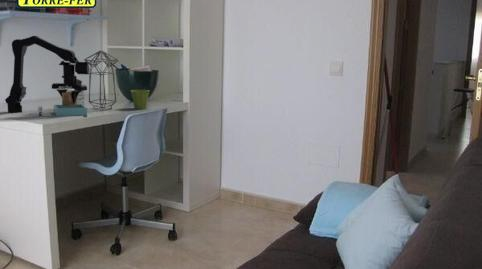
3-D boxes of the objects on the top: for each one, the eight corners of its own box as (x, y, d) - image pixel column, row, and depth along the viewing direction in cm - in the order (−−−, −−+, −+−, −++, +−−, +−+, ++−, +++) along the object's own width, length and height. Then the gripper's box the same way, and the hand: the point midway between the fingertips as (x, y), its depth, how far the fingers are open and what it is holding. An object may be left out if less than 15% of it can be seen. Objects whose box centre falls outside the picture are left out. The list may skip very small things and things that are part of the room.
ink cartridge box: (72, 110, 280) (71, 84, 277) (67, 109, 283) (66, 84, 280) (85, 108, 287) (84, 84, 284) (80, 107, 290) (79, 83, 287)
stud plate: (30, 118, 246) (30, 107, 246) (29, 115, 255) (29, 105, 254) (51, 117, 251) (51, 107, 250) (49, 114, 260) (49, 104, 259)
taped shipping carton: (70, 106, 256) (70, 93, 254) (62, 105, 257) (61, 92, 256) (77, 105, 261) (76, 92, 259) (68, 104, 262) (68, 91, 261)
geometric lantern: (121, 109, 291) (120, 51, 284) (103, 112, 278) (102, 51, 270) (101, 106, 298) (100, 49, 291) (82, 109, 284) (81, 50, 277)
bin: (57, 118, 250) (56, 108, 249) (53, 113, 263) (53, 104, 262) (86, 117, 257) (86, 107, 256) (82, 113, 270) (82, 104, 269)
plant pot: (143, 106, 305) (143, 89, 303) (153, 109, 296) (153, 91, 294) (126, 108, 297) (126, 89, 295) (136, 110, 288) (136, 91, 286)
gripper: (92, 74, 261) (93, 102, 264) (64, 72, 266) (64, 100, 269) (80, 75, 250) (80, 104, 253) (50, 73, 256) (51, 102, 259)
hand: (69, 102), depth 259 cm, fingers closed on taped shipping carton, 5 cm apart
